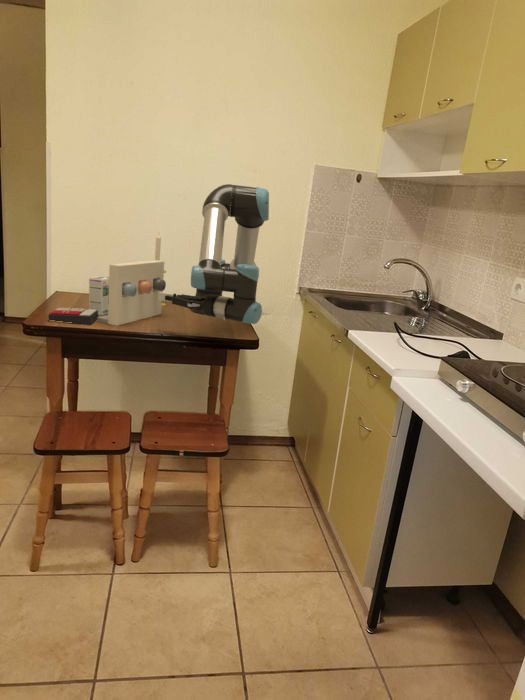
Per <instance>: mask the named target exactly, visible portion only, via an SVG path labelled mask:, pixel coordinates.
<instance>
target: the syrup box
mask: <svg viewBox="0 0 525 700" xmlns="http://www.w3.org/2000/svg"><path fill="white" fill-rule="evenodd" d="M107 277H108V276H100V275H99V276H97V275H96V276H93V277H89V278H88V281H89V282H88V309H94V310H98V316H100V317H102V316H105V315H108V304H109V278H107Z"/></svg>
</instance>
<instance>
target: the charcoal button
mask: <svg viewBox="0 0 525 700" xmlns="http://www.w3.org/2000/svg"><path fill="white" fill-rule="evenodd" d="M166 285H167V284H166V280H164V279H163V280H160V279H153V289H154V290H160V291H163V292H164V291H165V289H166Z"/></svg>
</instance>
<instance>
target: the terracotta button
mask: <svg viewBox="0 0 525 700" xmlns="http://www.w3.org/2000/svg"><path fill="white" fill-rule="evenodd" d="M151 290H152V285H151V283H150V282H144V281H139V283H138V292H141V293H147V294H149V293H150V292H151Z"/></svg>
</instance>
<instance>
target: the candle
mask: <svg viewBox="0 0 525 700" xmlns="http://www.w3.org/2000/svg"><path fill="white" fill-rule="evenodd" d="M161 242H162V237H161V235H160V232H158V233H157V235H156V237H155V251H154V260H158V261H161V244H162V243H161ZM165 273H167V271H166V270H165V269H164V274H165ZM165 305H166V306H167V303H165V302H163V301H162V307H165Z"/></svg>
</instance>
